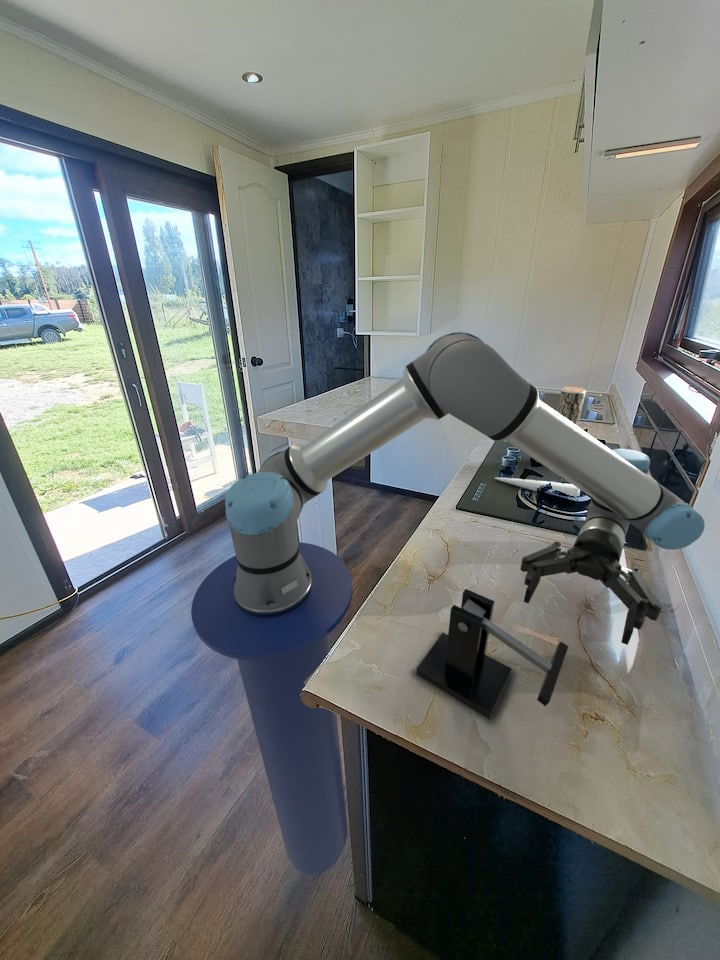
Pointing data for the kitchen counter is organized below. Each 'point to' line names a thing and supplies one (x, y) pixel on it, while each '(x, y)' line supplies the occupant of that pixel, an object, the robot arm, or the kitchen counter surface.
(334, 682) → the kitchen counter surface
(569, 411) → the brown bark cylinder
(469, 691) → the bracket
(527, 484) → the unicorn horn
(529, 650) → the lever
